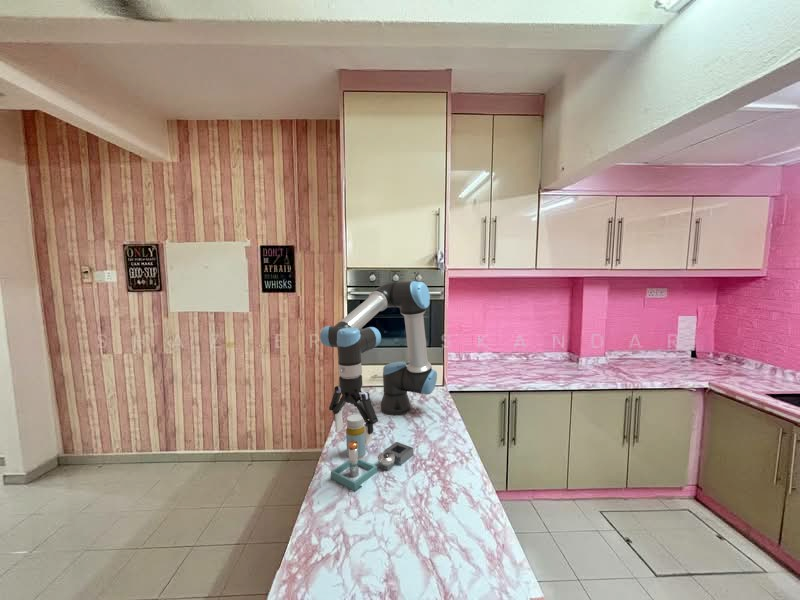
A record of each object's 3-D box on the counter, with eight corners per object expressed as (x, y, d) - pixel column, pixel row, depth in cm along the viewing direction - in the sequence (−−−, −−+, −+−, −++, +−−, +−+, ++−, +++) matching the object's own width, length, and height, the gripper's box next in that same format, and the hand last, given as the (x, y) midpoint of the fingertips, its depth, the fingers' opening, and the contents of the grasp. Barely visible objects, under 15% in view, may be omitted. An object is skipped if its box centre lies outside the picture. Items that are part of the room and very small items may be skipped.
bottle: (362, 461, 125) (361, 422, 124) (344, 460, 126) (342, 421, 125) (368, 451, 132) (366, 414, 130) (350, 450, 133) (349, 413, 132)
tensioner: (390, 477, 116) (389, 461, 115) (372, 469, 120) (372, 454, 120) (413, 458, 127) (413, 444, 126) (396, 451, 131) (396, 438, 131)
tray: (354, 464, 124) (353, 456, 123) (377, 474, 117) (377, 466, 117) (331, 479, 115) (330, 471, 115) (354, 492, 108) (354, 483, 108)
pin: (354, 471, 118) (352, 439, 117) (360, 474, 116) (359, 442, 115) (348, 476, 116) (346, 443, 114) (354, 479, 114) (353, 446, 113)
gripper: (316, 372, 117) (320, 430, 119) (371, 386, 102) (374, 453, 104) (333, 366, 123) (336, 422, 125) (387, 378, 108) (389, 442, 110)
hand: (353, 436), depth 115 cm, fingers open, 13 cm apart
